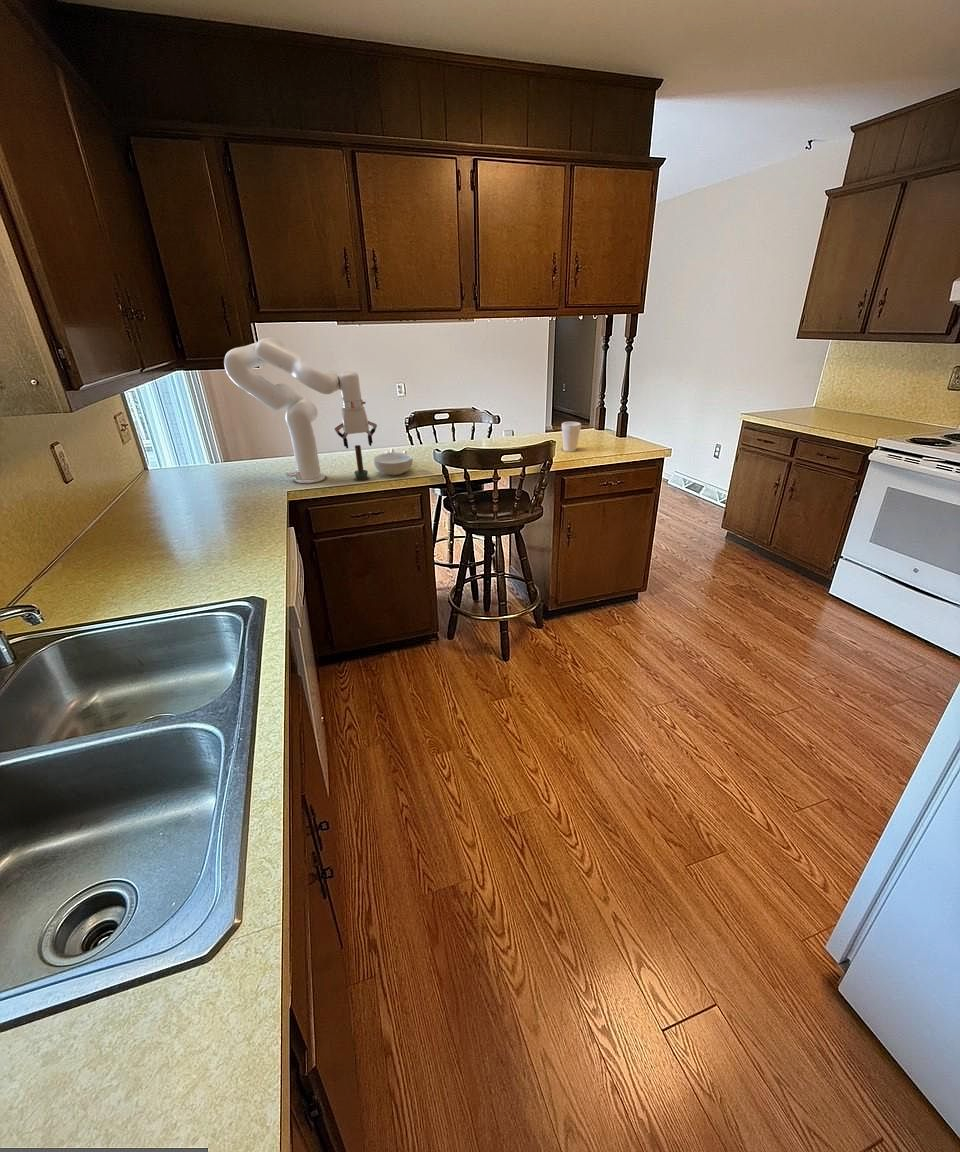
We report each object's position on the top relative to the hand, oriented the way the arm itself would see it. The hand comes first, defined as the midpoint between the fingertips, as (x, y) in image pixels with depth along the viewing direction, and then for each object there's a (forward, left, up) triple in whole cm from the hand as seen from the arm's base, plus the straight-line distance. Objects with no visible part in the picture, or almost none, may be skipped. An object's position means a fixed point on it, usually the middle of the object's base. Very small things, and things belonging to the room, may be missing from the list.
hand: (358, 446), depth 217 cm
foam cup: (+106, +8, -14) cm, 107 cm away
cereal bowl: (+15, +3, -14) cm, 21 cm away
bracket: (+19, +19, -14) cm, 30 cm away
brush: (0, 0, -14) cm, 14 cm away
